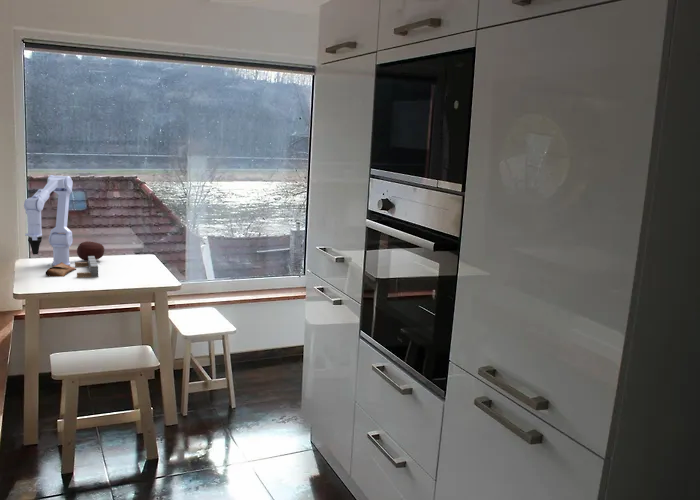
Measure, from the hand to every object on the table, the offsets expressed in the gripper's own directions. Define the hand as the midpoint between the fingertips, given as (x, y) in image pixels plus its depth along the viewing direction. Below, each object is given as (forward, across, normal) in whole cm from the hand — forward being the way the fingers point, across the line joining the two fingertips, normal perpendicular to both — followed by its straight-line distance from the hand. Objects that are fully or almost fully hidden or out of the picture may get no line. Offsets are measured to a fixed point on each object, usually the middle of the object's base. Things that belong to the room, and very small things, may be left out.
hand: (35, 253), depth 292 cm
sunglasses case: (+10, 0, +11) cm, 15 cm away
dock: (+9, 0, +22) cm, 23 cm away
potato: (+10, -26, +25) cm, 37 cm away
